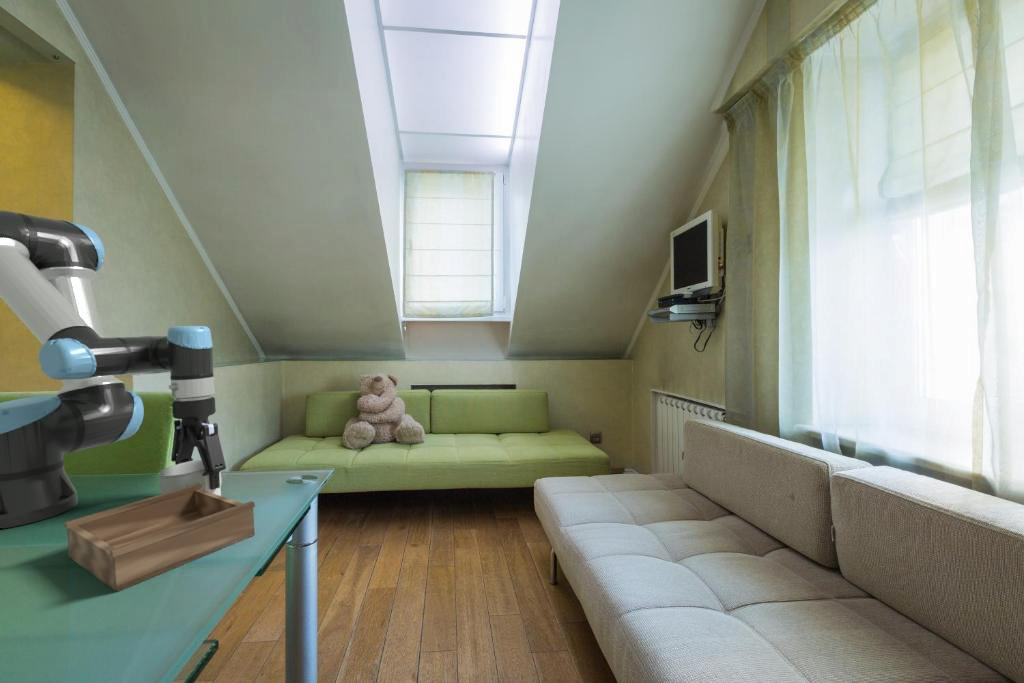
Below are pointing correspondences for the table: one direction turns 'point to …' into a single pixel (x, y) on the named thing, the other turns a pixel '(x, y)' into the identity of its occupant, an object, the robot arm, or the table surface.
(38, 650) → the table surface
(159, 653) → the table surface
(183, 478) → the teacup
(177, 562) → the crate
